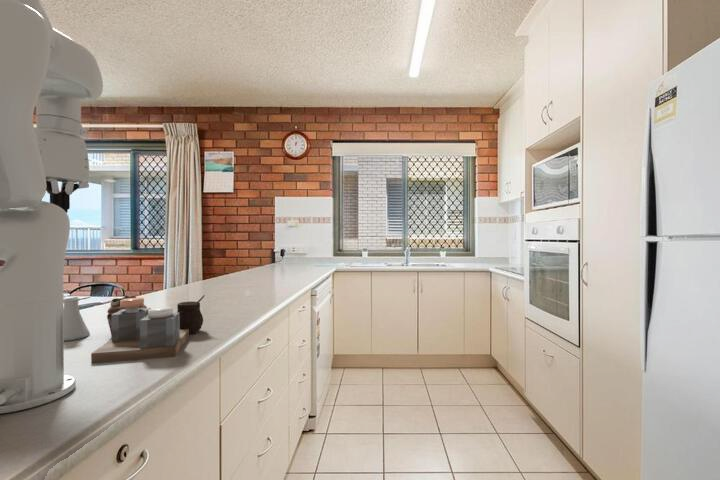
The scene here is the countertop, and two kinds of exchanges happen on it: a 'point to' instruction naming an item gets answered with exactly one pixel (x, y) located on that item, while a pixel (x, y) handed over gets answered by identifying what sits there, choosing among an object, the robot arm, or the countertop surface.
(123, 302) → the orange rounded piece
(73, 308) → the flask
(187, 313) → the mate gourd
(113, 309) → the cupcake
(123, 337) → the board
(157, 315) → the white round part
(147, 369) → the countertop surface
